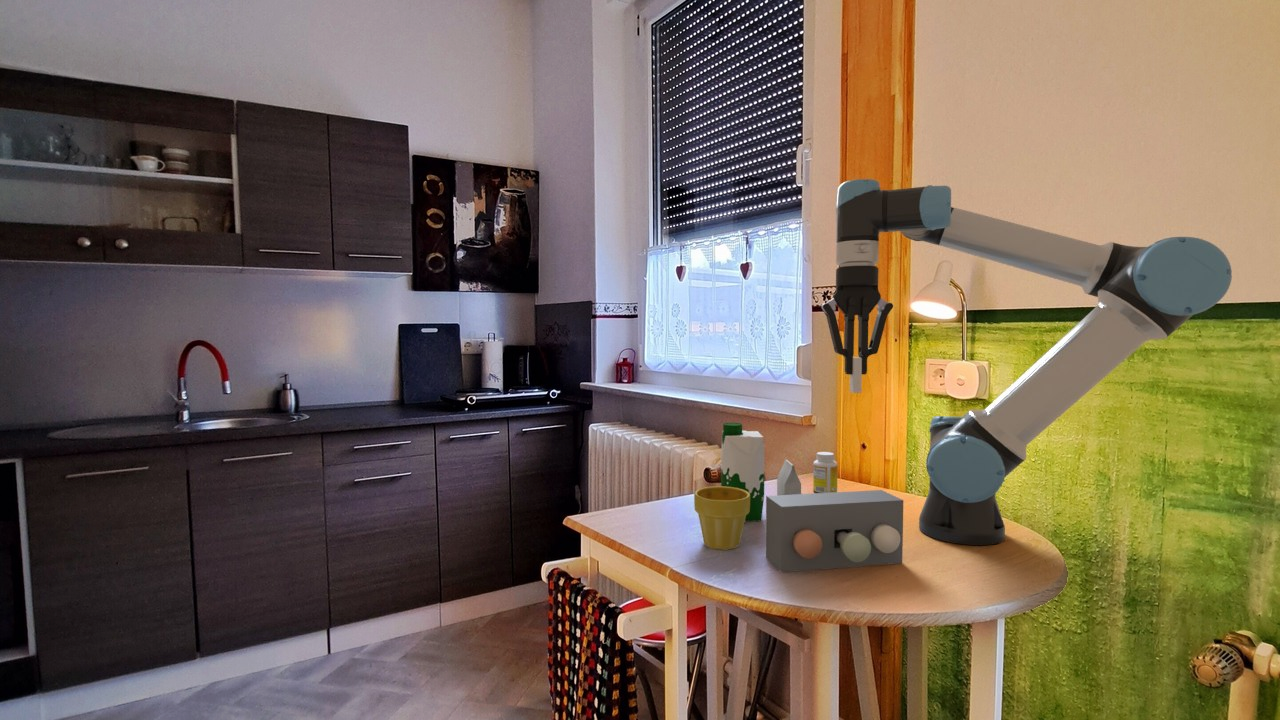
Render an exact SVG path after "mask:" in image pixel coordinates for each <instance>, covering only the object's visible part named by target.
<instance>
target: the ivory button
mask: <svg viewBox="0 0 1280 720" xmlns="http://www.w3.org/2000/svg"><path fill="white" fill-rule="evenodd" d="M871 543H872V544H873V546H874V547H875V548H877V549H878V550H880V551H882V552H884V553H891V552H893V551H895V550H896V549H897V548H898V546H899V544H900V534H899V532H898V531H897V530H896V529H894V528H893V527H891V526H889V525H887V524H880V525H878V526H876V527H873V531H872V533H871Z"/></svg>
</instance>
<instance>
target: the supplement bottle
mask: <svg viewBox="0 0 1280 720" xmlns="http://www.w3.org/2000/svg"><path fill="white" fill-rule="evenodd" d="M812 466H813V469H812V471H813V475H812V476H813V479H812V480H813V482H812V485H813V489H812V490H813V491H812V492H813V493H812V494H814V493H833V492H838V462H837V461H836V460H835V454H834V453H833V452H830V451H818V452H817V453H816V459H815V460H814V461H813V465H812Z"/></svg>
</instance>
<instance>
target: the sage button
mask: <svg viewBox="0 0 1280 720" xmlns="http://www.w3.org/2000/svg"><path fill="white" fill-rule="evenodd" d="M835 540H836V542H837V543H839V544H840V548H841V552H842V553H843V555H844V556H846V557H847V558H848V559H850V560H851V561H853V562H861V561H864V560H865V559H866V558H867V557H868V556H869V554H870V551H871V544H870V542H869V540H868V539H867V538H866V537H864V536H863V535H861V534H860V533H858V532H850V533H848V534H847V533H846V532H844V531H839V532H837V534H836V536H835Z"/></svg>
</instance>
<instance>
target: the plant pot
mask: <svg viewBox="0 0 1280 720" xmlns="http://www.w3.org/2000/svg"><path fill="white" fill-rule="evenodd" d="M693 502H694V503H693V504H694V505H693V507H694V511H695V512H696V513H697V514H698V518H699V519H698V520H699V524H700V528H701V529H700V530H701V535H702V539H703V540H702V541H703V544H704V545H705V547H708V548H710V549H714V550H721V551H727V550H733V549H736V548H738V547H739V545H740V543H741V537H742V535H743V530H744V526H745V522H746V521H745V518H746V515H747V514H748V513H749V511H750V494H749V492H747V491H745V490H743V489H739V488H734V487H726V486H721V485H719V486H718V485H716V486H715V485H713V486H705V487H702V488H699V489H697V490H696V491H695V492H694V501H693Z"/></svg>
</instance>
